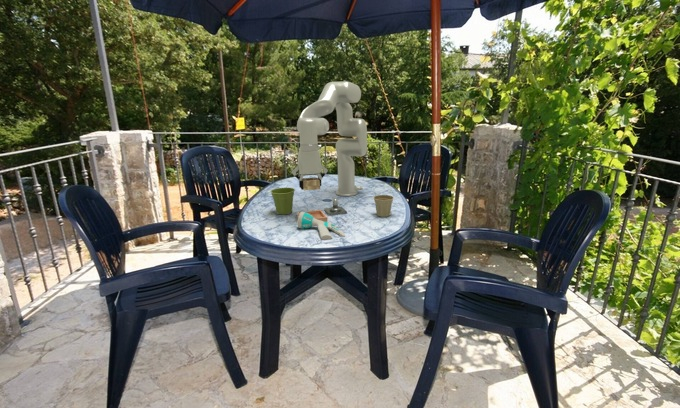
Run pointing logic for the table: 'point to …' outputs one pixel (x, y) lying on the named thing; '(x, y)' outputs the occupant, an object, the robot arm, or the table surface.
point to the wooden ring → (311, 183)
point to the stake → (335, 209)
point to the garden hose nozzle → (308, 221)
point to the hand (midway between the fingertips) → (310, 188)
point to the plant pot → (283, 200)
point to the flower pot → (383, 205)
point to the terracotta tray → (317, 215)
